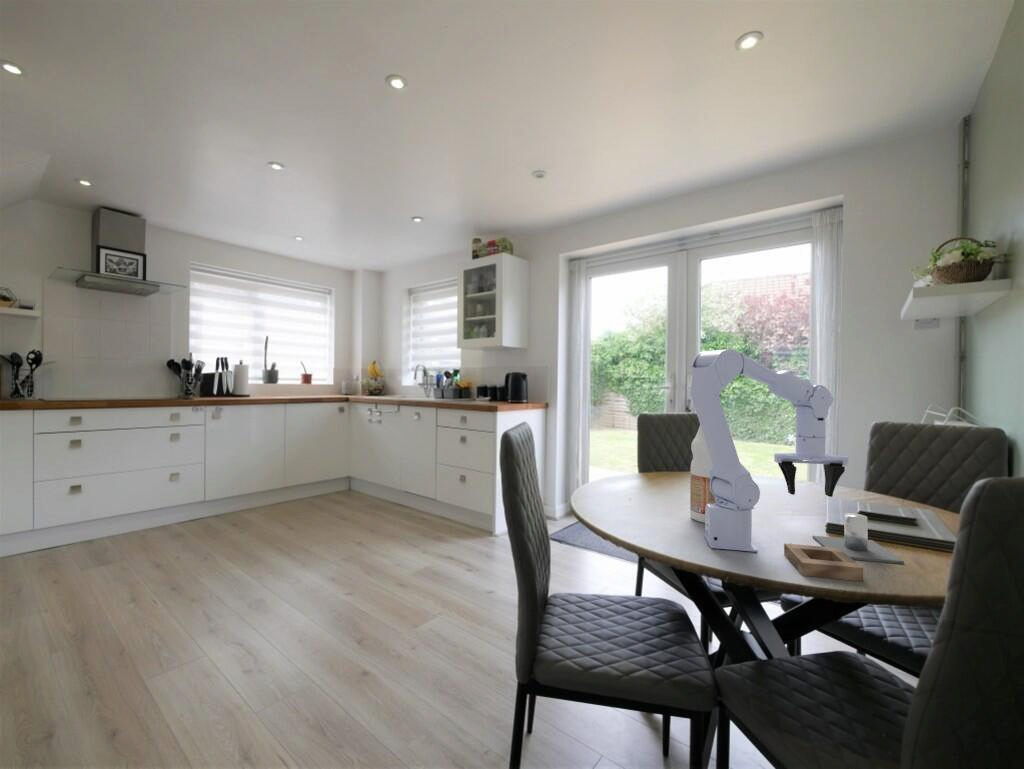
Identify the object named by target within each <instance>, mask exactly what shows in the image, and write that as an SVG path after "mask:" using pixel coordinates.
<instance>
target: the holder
mask: <svg viewBox="0 0 1024 769" xmlns="http://www.w3.org/2000/svg"><path fill="white" fill-rule="evenodd" d="M783 549H784V550H783V553H784V554H783V556H784V557H785V558H786V559H787V560H788V561H789V562H790V564H792V566H793V567H794V568H795V569H796V570H797V572H798V573H799V574H800V573H801V574H802V575H805V576H804V577H813V578H824V579H833V580H834V579H835V580H844V581H845V580H846V581H857V582H864V567H863V566H862V565H861V564H859V563H858V562H857V561H856V560H854V559H852V558H850V557H849V556H848V555H847V554H845V553H844V552H843V551H842V550H840V549H839V548H834V547H823V546H821V545H820V546H818V545H809V544H808V545H806V544H795V543H784V544H783ZM801 574H800V575H801ZM802 575H801V576H802Z"/></svg>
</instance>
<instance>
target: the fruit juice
mask: <svg viewBox="0 0 1024 769" xmlns="http://www.w3.org/2000/svg"><path fill="white" fill-rule="evenodd" d="M690 445H691V446H690V447H691V448H690V449H691V453H692V460H691V462H690V469H689V470H690V472H689V473H690V481H689V482H690V483H689V484H690V485H689V486H690V492H689V493H690V497H689V498H690V500H689V501H690V505H689V506H690V507H689V508H690V510H689V511H690V512H689V513H690V517H691V519H693V520H694V521H696V522H699V523H703V524H705V507H706V504H714V503H716V501H715V496H714V495H713V494H712V493H711V491H710V475H709V470H710V469H711V468H712V467H713V463H712V460H711V457H710V453H709V450H708V447H707V444H706V441H705V438H704V435H703V432H702V428H701V425H700V424H699V427H698V430H697V432H696V434H695V437H694V438H693V440H692V442H691V444H690Z"/></svg>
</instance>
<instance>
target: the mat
mask: <svg viewBox="0 0 1024 769" xmlns="http://www.w3.org/2000/svg"><path fill="white" fill-rule="evenodd" d="M812 539H813V540H815V541H816V542H817V543H818V544H819V545H820V546H821V547H834V548H839V549H840V550H842V551H843V552H844V553H845V554H847V555H848V556H849V557H850V558H852V559H853V560H854V561H865V562H866V561H869V562H876V563H877V562H878V563H880V562H881V563H890V564H891V563H892V564H902V565H904V564H905V561H904V560H903V559H901V558H900V557H898V556H897V555H895V554H894V553H892V552H891V551H889V550H888V549H886V548H885V547H883V546H882V545H880V544H879V543H877V542H875V540H872V539H868V550H867V551H856V550H851V549H848V548H846V547H845V537H834V536H820V535H812Z"/></svg>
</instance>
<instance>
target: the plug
mask: <svg viewBox="0 0 1024 769" xmlns="http://www.w3.org/2000/svg"><path fill="white" fill-rule="evenodd" d="M843 519H844V521H843V522H844V523H843V524H844V531H843V532H844V533H843V534H844V537H843V538H845V547H846V548H848V549H851V550H856V551H867V550H868V540H869V538H868V537H869V536H868V535H869V534H868V533H869V532H868V516H866V515H864V514H861V513H854V512H852V513H851V512H847V513H846V512H845V513H844V515H843Z"/></svg>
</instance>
